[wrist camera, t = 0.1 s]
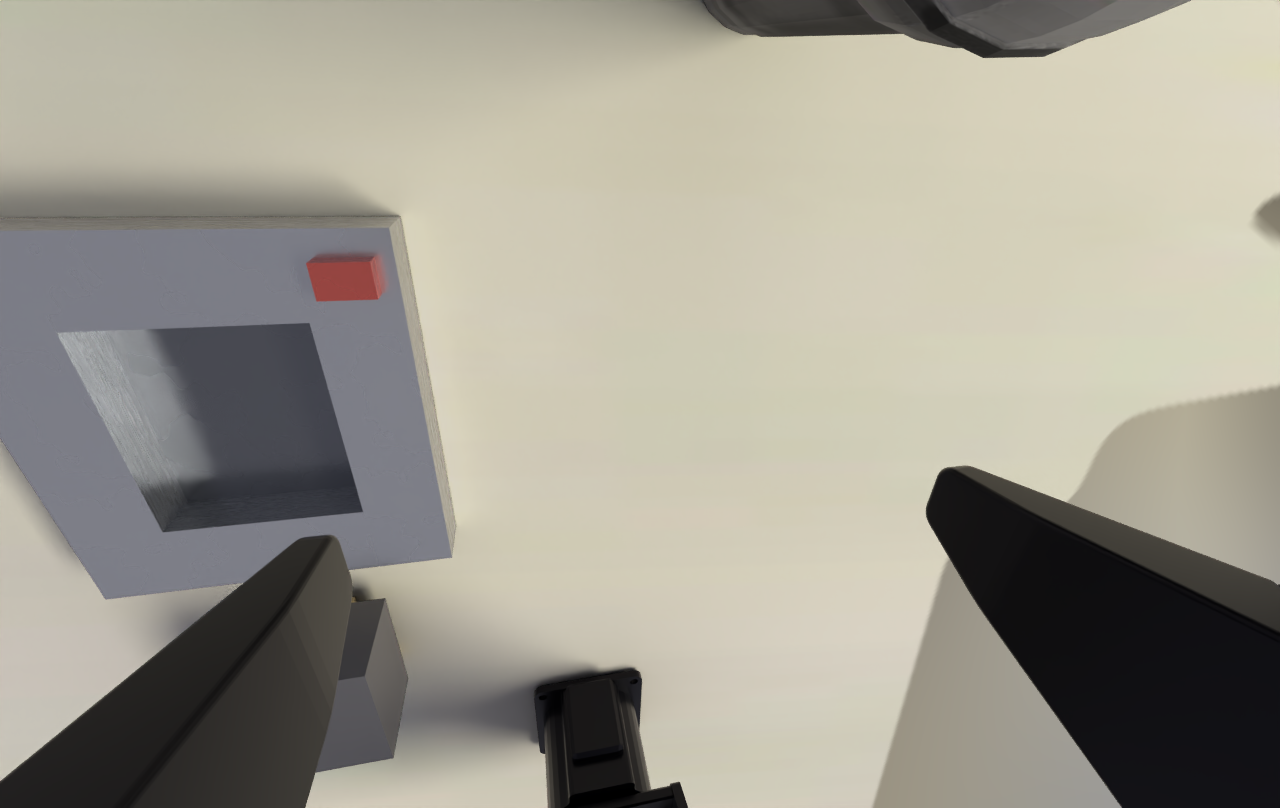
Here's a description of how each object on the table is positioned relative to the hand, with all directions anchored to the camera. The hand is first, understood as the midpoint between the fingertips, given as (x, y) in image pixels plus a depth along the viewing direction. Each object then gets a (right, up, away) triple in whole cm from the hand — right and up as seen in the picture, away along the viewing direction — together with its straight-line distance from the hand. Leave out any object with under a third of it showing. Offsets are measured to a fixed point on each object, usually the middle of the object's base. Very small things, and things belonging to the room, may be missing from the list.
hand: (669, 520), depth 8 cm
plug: (-15, -10, +19) cm, 26 cm away
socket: (-15, +2, +13) cm, 20 cm away
